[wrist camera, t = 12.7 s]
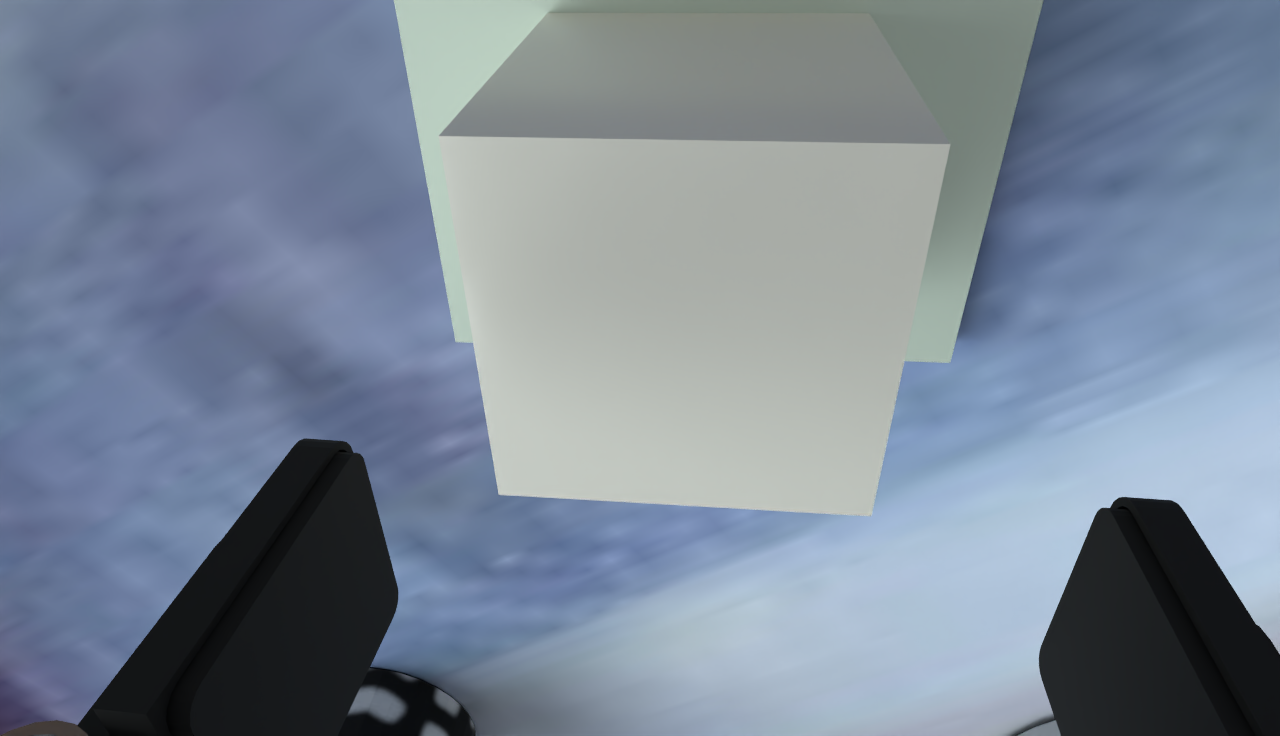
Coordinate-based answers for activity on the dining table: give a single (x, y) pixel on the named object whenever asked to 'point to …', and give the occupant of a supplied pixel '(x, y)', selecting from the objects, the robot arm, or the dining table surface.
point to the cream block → (694, 256)
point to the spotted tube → (404, 709)
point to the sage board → (898, 3)
